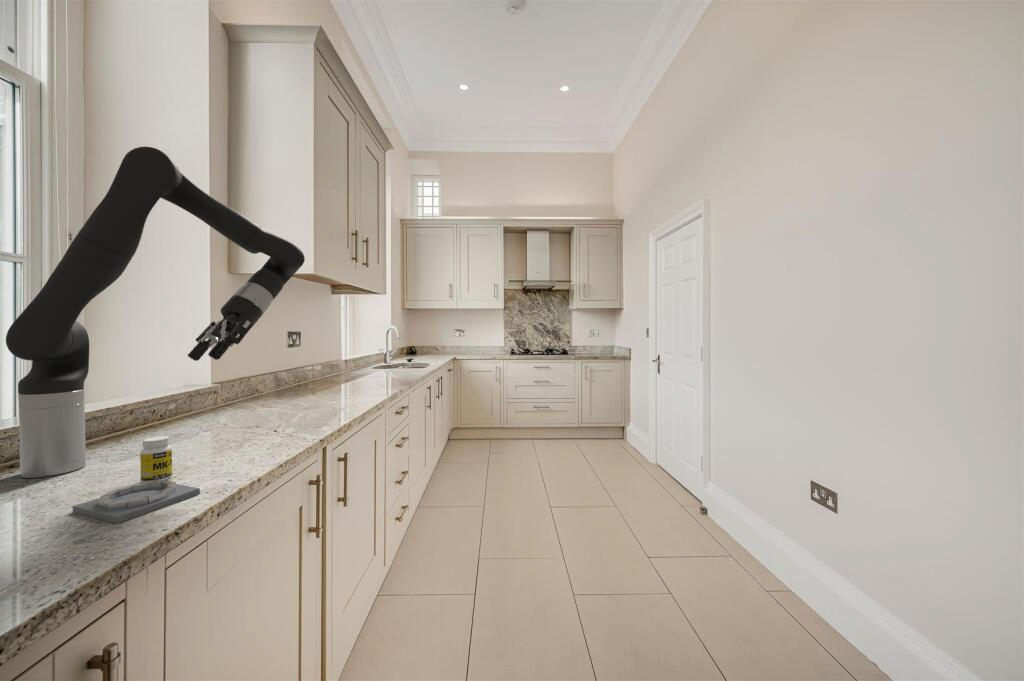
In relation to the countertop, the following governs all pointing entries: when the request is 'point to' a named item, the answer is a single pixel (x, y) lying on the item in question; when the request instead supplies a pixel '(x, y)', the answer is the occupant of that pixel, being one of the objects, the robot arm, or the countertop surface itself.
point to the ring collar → (109, 503)
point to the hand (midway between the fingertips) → (202, 358)
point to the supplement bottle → (156, 459)
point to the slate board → (128, 513)
